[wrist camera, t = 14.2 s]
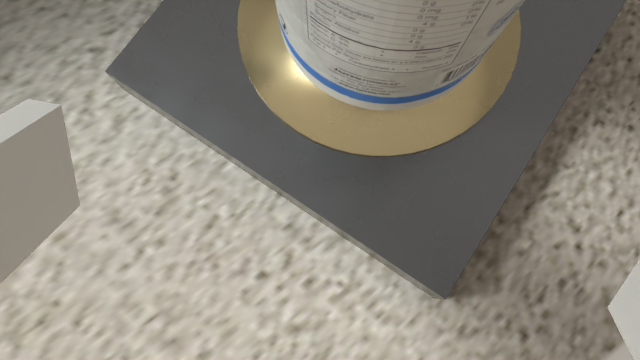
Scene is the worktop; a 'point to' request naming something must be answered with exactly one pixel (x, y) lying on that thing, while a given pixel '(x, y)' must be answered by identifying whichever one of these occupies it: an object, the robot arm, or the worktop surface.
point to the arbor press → (367, 124)
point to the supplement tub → (390, 46)
